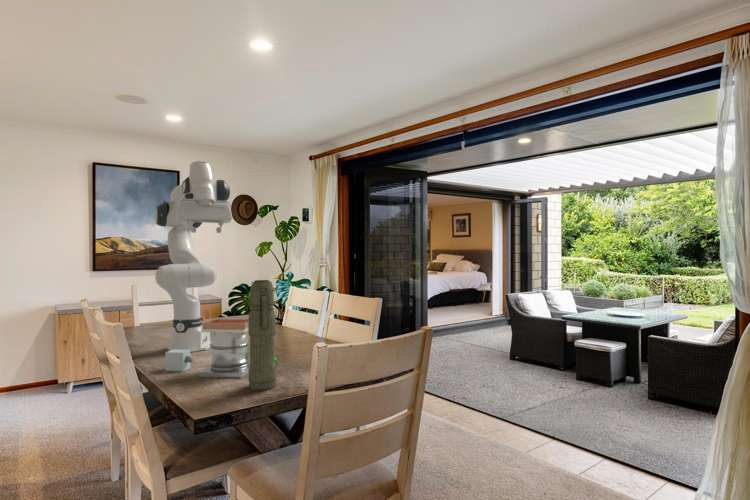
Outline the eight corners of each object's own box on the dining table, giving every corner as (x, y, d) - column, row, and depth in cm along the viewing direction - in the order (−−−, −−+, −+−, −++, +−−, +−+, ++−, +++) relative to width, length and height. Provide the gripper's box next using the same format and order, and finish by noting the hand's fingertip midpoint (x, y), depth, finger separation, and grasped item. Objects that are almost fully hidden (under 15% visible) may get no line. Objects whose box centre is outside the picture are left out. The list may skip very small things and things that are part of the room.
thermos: (254, 393, 140) (253, 282, 140) (244, 384, 150) (243, 280, 150) (281, 389, 144) (280, 281, 144) (270, 380, 154) (269, 279, 154)
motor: (219, 365, 175) (218, 317, 175) (258, 365, 173) (258, 318, 173) (198, 376, 159) (198, 324, 159) (241, 377, 157) (241, 325, 157)
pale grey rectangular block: (173, 367, 172) (172, 349, 172) (195, 368, 171) (194, 349, 171) (165, 371, 167) (165, 352, 167) (188, 371, 166) (188, 352, 166)
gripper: (228, 204, 183) (231, 235, 180) (174, 201, 172) (176, 234, 168) (232, 197, 178) (235, 229, 175) (177, 194, 167) (179, 228, 163)
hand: (206, 232), depth 171 cm, fingers open, 8 cm apart
